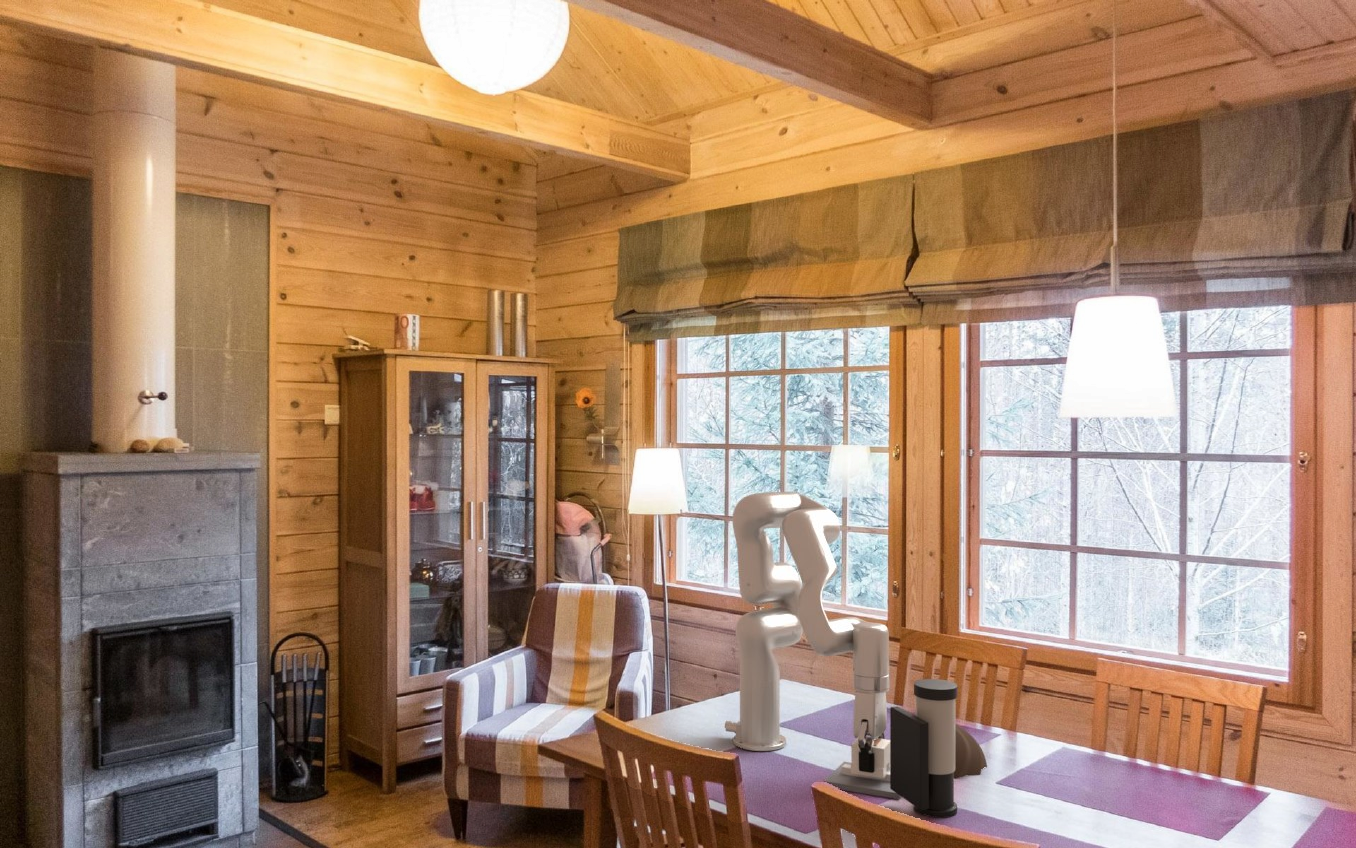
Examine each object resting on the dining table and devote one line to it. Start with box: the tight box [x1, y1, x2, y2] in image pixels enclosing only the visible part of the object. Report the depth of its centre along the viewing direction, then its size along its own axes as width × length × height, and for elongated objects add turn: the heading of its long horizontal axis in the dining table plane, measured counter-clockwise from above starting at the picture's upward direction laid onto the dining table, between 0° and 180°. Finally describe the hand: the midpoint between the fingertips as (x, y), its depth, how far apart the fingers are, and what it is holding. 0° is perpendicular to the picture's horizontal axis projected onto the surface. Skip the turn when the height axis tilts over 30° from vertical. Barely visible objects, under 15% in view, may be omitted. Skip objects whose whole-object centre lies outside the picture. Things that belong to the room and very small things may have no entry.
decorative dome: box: [954, 723, 988, 779], centre depth 227 cm, size 19×20×10 cm
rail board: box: [823, 761, 902, 800], centre depth 215 cm, size 16×14×3 cm
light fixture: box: [889, 678, 959, 818], centre depth 199 cm, size 12×11×25 cm
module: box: [850, 736, 890, 779], centre depth 214 cm, size 7×7×6 cm
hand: (871, 765), depth 214 cm, fingers closed on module, 7 cm apart
